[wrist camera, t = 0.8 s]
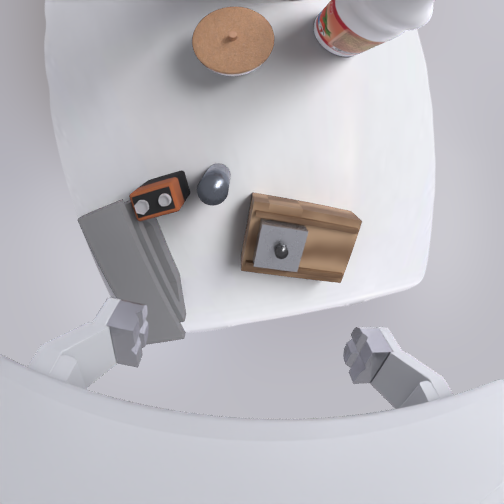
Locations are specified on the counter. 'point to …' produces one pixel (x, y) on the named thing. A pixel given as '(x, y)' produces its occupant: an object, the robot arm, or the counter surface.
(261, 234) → the square lid with knob
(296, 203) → the socket block
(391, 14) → the fruit juice
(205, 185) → the grey rounded cylinder
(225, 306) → the counter surface
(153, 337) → the grey storage box
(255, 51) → the lidded jar
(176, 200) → the battery
